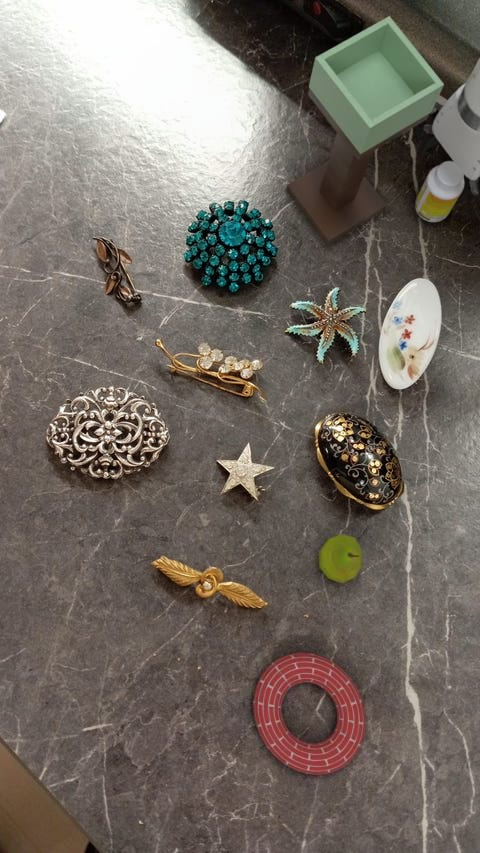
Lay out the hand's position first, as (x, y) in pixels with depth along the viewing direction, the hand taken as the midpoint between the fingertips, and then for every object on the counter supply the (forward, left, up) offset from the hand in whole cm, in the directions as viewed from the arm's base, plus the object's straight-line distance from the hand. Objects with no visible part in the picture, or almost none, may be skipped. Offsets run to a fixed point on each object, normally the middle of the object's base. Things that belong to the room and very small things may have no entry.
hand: (447, 172), depth 130 cm
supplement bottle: (0, +1, -10) cm, 10 cm away
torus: (+59, +51, -10) cm, 78 cm away
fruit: (+44, +37, -10) cm, 58 cm away
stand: (+12, -8, -10) cm, 18 cm away
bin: (+12, -8, +16) cm, 22 cm away
